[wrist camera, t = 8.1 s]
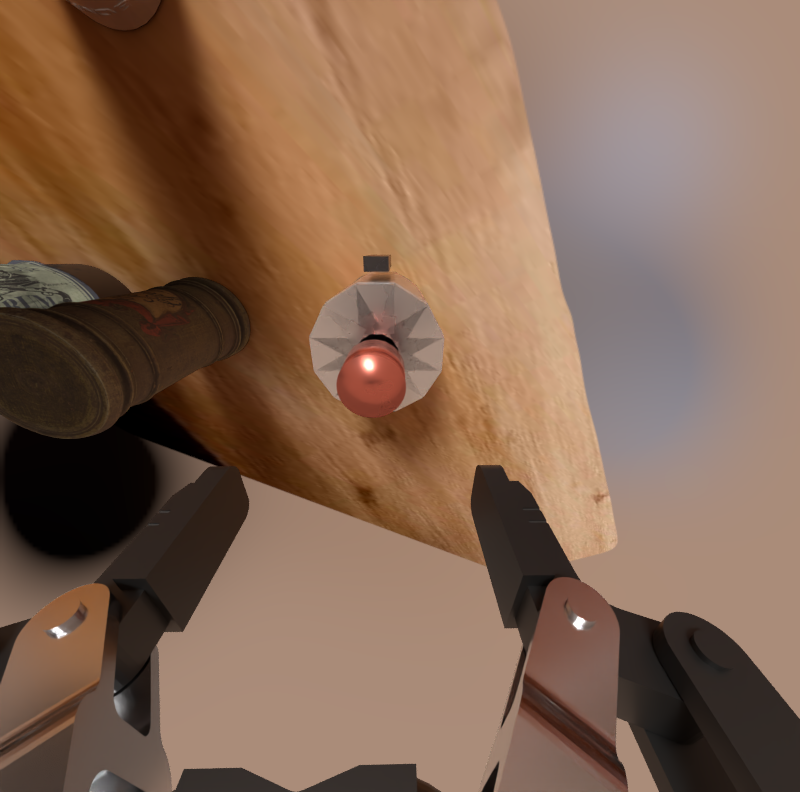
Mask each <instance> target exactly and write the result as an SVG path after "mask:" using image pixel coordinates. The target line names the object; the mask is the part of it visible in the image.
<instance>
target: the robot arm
mask: <svg viewBox="0 0 800 792" xmlns="http://www.w3.org/2000/svg"><path fill="white" fill-rule="evenodd" d="M66 1H68V2H69V3H70V4H72V5H73V6H75V7H76V8H77V9H79V10H80V11H81V12H83V13H84V14H85V15H87V16H88V17H90V18H91V19H93V20H94V21H96V22H97V23H99V24H102V25H104V26H106V27H109V28H111V29H117V30H123V31H125V30H132V29H137V28H138V27H140V26H142V25H144V24H146V23H147V22H148V21H149V20H150V19H151V17H152V16H153V15H154V14H155V12H156V10H157V8H158V6H159V4H160V2H161V0H66ZM248 510H249V499H248V496H247V493H246V490H245V487H244V484H243V481H242V478H241V475H240V472H239V470H238V468H237V467H235V466H217V467H209V468H207V469H206V470H205V471H204V472H203V473H202V475H201V476H200V477H199V478H198V479H197V480H196V482H195V483H190V484H188V485H187V486H186V487H185V488H183V489H181V490H180V491H179V492H177V493H176V494H175V495H173V496H172V497H171V498H170V499H169V500H168V501H167V503H166V504H165V505H164V506H163V507H162V508H161V509H160V512H159V513H157V514H156V515H155V516H154V517H153V518H152V519H151V520H150V522H149V523H148V526H145V527H144V528H143V529H142V530H141V532H140V533H139V534H138V535H137V536H136V537H135V538H134V539H133V540H132V542H131V543H130V544H129V545H128V546H127V547H126V548H125V549H124V550H123V551H122V553H121V554H120V555H119V556H118V557H117V558H116V559H115V560H114V562H113V563H112V564H111V565H110V566H109V567H108V568H107V569H106V570H105V571H104V573H103V574H102V575H101V576H100V577H99V578H98V579H97V580H96V581H95V582H94V583H93V584H88V585H84V586H81V587H78V588H75V589H73V590H71V591H69V592H67V593H65V594H63V595H61V596H60V597H58V598H56V599H55V600H53V601H52V602H50V603H49V604H48V605H46V606H45V607H44V608H43V609H41V610H40V611H39V612H38V613H37V614H36V615H35V616H33V617H32V618H31V619H27V620H24V621H21V622H18V623H14V624H11V625H8V626H5V627H1V628H0V792H292V791H290V790H287V789H285V788H283V787H281V786H279V785H277V784H274V783H273V782H270V781H268V780H266V779H264V778H262V777H260V776H258V775H256V774H253V773H251V772H249V771H247V770H245V769H243V768H215V769H214V768H213V769H184V771H183V773H182V775H181V778H180V780H179V783H178V785H177V788H176V790H174V791H172V784H171V773H170V768H169V763H168V759H167V756H166V753H165V751H164V748H163V745H162V741H161V734H160V704H159V703H160V701H159V654H158V648H157V646H156V644H157V643H158V641H159V639H160V638H161V636H162V634H163V633H164V632H183V631H184V629H185V627H186V625H187V623H188V622H189V620H190V618H191V616H192V614H193V613H194V611H195V609H196V607H197V605H198V604H199V602H200V600H201V598H202V596H203V594H204V593H205V591H206V589H207V587H208V585H209V584H210V582H211V580H212V578H213V576H214V574H215V573H216V571H217V569H218V567H219V566H220V564H221V562H222V560H223V558H224V557H225V555H226V553H227V551H228V549H229V548H230V546H231V544H232V542H233V540H234V539H235V536H236V535H237V533H238V531H239V530H240V528H241V526H242V524H243V522H244V520H245V519H246V516H247V513H248ZM471 511H472V516H473V520H474V523H475V527H476V530H477V534H478V537H479V541H480V544H481V548H482V551H483V555H484V558H485V562H486V565H487V569H488V572H489V575H490V579H491V582H492V586H493V589H494V593H495V596H496V599H497V603H498V607H499V610H500V614H501V617H502V621H503V624H504V628H518V630H519V633H520V637H521V640H522V643H523V645H522V647H521V651H520V654H519V658H518V661H517V665H516V669H515V672H514V675H513V679H512V682H511V686H510V689H509V694H508V696H507V700H506V703H505V707H504V710H503V714H502V718H501V721H500V725H499V728H498V731H497V734H496V737H495V740H494V744H493V746H492V749H491V752H490V755H489V758H488V762H487V765H486V768H485V771H484V775H483V778H482V781H481V785H480V788H479V792H628V784H627V778H626V773H625V769H624V766H623V764H622V763H621V762H620V761H619V759H618V757H617V753H616V718H620V719H622V720H624V721H627V722H628V723H629V725H630V727H631V730H632V732H633V734H634V737H635V739H636V741H637V743H638V745H639V748H640V750H641V752H642V754H643V756H644V759H645V761H646V763H647V765H648V768H649V770H650V772H651V774H652V777H653V779H654V781H655V783H656V785H657V788H658V790H659V792H800V719H799V718H798V717H797V715H796V714H795V713H794V712H793V710H792V709H791V708H790V707H789V706H788V704H787V703H786V702H785V701H784V699H783V698H782V697H781V696H780V694H779V693H778V692H777V691H776V690H775V688H774V687H773V686H772V685H771V683H770V682H769V681H768V680H767V678H766V677H765V676H764V675H763V674H762V672H761V671H760V670H759V669H758V667H757V666H756V665H755V664H754V663H753V661H752V660H751V659H750V658H749V657H748V655H747V654H746V653H745V652H744V651H743V650H742V649H741V647H740V646H739V645H738V644H737V643H735V642H734V641H733V640H732V639H731V638H730V637H729V636H728V635H726V634H725V633H724V632H723V631H721V630H720V629H719V628H717V627H716V626H714V625H712V624H711V623H709V622H708V621H706V620H704V619H702V618H699V617H697V616H695V615H692V614H689V613H684V612H674V613H671V614H669V615H668V616H666V617H665V618H664V620H663V621H662V622H659V621H656V620H653V619H649V618H646V617H643V616H640V615H637V614H634V613H630V612H627V611H624V610H621V609H619V608H616V607H614V606H612V605H610V604H608V603H607V601H606V600H605V599H604V598H603V597H602V596H601V595H600V594H599V593H598V592H597V591H596V590H594V589H593V588H592V587H590V586H589V585H587V584H586V583H584V582H581V580H580V579H579V578H578V576H577V574H576V573H575V571H574V569H573V567H572V566H571V564H570V562H569V560H568V558H567V557H566V555H565V553H564V551H563V549H562V548H561V546H560V544H559V542H558V540H557V539H556V537H555V535H554V533H553V531H552V530H551V528H550V526H549V524H548V523H546V519H545V517H544V515H543V513H542V512H541V511H540V510H539V506H538V504H537V503H536V501H535V499H534V497H533V495H532V494H531V492H529V491H528V490H527V489H526V488H525V487H524V486H523V485H522V484H521V483H520V482H519V481H509V479H508V477H507V475H506V473H505V471H504V469H503V467H502V466H501V465H478V466H477V467H476V471H475V477H474V483H473V489H472V495H471ZM299 792H441V791H439V790H438V789H436V788H435V787H433V786H432V785H430V784H429V783H426V782H424V781H422V780H420V779H418V778H417V777H416V764H392V765H391V764H390V765H359V766H357V767H354V768H352V769H350V770H348V771H345V772H343V773H341V774H339V775H336V776H334V777H332V778H330V779H327V780H325V781H323V782H320V783H319V784H316V785H314V786H311V787H309V788H307V789H305V790H302V791H299Z"/></svg>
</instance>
